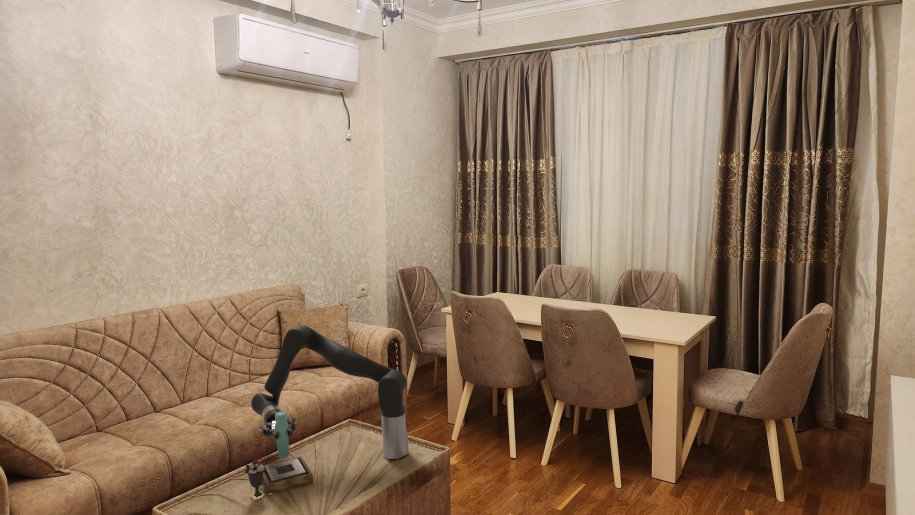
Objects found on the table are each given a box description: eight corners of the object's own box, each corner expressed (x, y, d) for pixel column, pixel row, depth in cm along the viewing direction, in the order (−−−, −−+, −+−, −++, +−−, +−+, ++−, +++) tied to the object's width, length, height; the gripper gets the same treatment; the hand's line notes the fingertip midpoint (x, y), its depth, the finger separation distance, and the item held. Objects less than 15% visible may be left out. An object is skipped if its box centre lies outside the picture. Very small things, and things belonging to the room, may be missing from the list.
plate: (297, 465, 238) (297, 458, 237) (306, 479, 227) (305, 471, 227) (265, 473, 232) (264, 466, 232) (272, 488, 222) (271, 480, 221)
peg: (287, 451, 231) (285, 410, 229) (290, 456, 228) (287, 414, 225) (276, 454, 230) (273, 413, 227) (279, 459, 226) (276, 417, 223)
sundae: (271, 494, 220) (268, 454, 217) (256, 503, 214) (252, 462, 212) (259, 489, 223) (256, 450, 221) (243, 498, 218) (240, 457, 215)
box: (302, 464, 241) (301, 456, 240) (313, 483, 227) (312, 474, 226) (259, 475, 233) (258, 466, 233) (268, 495, 219) (267, 485, 219)
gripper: (253, 412, 236) (262, 429, 221) (291, 404, 242) (303, 421, 227) (255, 431, 237) (264, 449, 222) (292, 423, 244) (304, 440, 229)
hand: (283, 435), depth 225 cm, fingers closed on peg, 4 cm apart
